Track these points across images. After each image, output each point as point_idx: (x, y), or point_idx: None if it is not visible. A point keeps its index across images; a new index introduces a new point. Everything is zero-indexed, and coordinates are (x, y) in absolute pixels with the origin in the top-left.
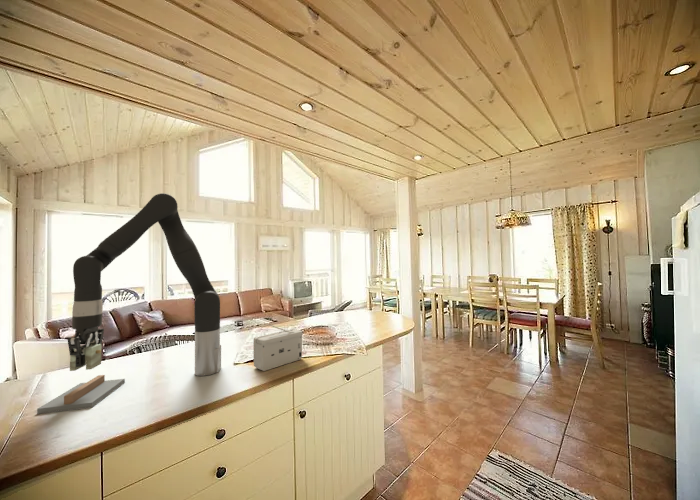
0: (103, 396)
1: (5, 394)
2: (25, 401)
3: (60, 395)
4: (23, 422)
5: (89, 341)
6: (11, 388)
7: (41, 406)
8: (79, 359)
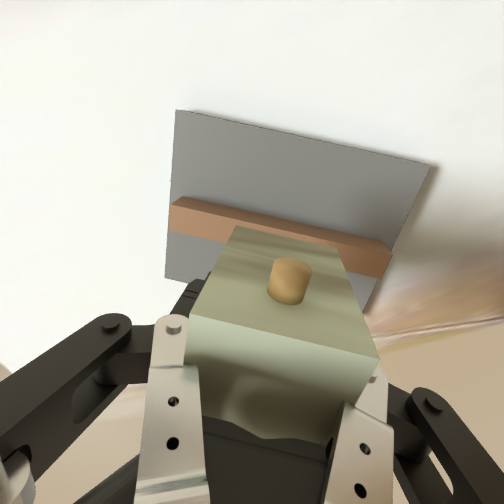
0: (348, 147)
1: None
2: None
3: None
4: (400, 322)
5: (341, 468)
6: (117, 414)
7: None
8: None
